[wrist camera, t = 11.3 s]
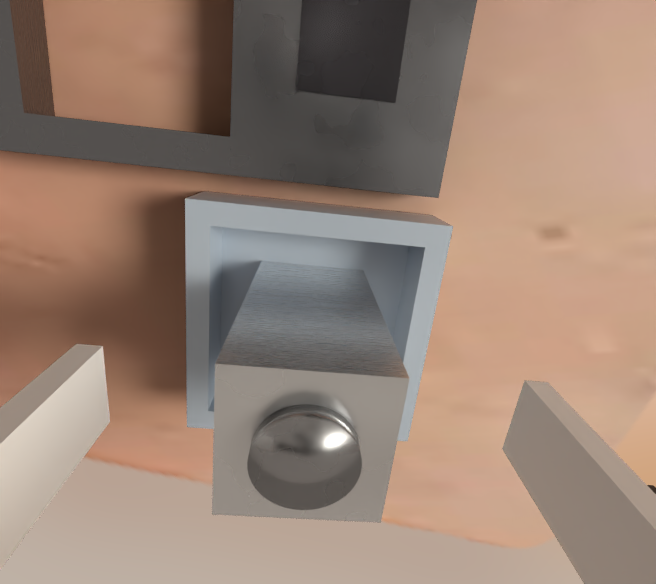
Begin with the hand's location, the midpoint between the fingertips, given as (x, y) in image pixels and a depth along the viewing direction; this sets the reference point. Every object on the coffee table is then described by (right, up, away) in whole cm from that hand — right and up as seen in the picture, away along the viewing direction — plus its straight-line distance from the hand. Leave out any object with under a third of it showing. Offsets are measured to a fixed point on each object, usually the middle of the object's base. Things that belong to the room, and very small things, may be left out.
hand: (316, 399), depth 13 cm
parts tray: (-1, +3, +8) cm, 9 cm away
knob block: (-1, +2, +8) cm, 8 cm away
